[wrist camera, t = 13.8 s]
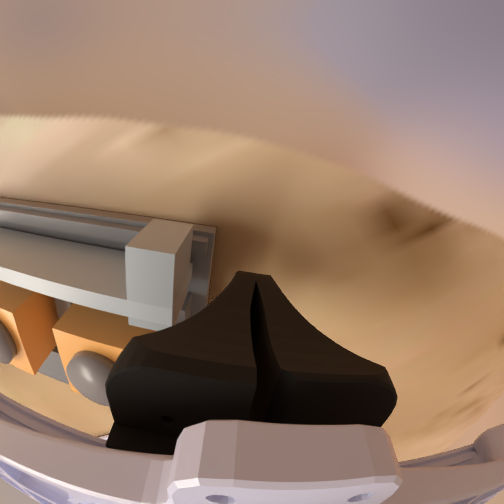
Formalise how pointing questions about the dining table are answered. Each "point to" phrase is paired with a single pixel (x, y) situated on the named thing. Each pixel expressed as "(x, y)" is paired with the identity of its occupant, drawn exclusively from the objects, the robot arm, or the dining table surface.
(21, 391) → the dining table surface
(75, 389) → the block
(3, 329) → the orange knob block
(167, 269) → the cover bar
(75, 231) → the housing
